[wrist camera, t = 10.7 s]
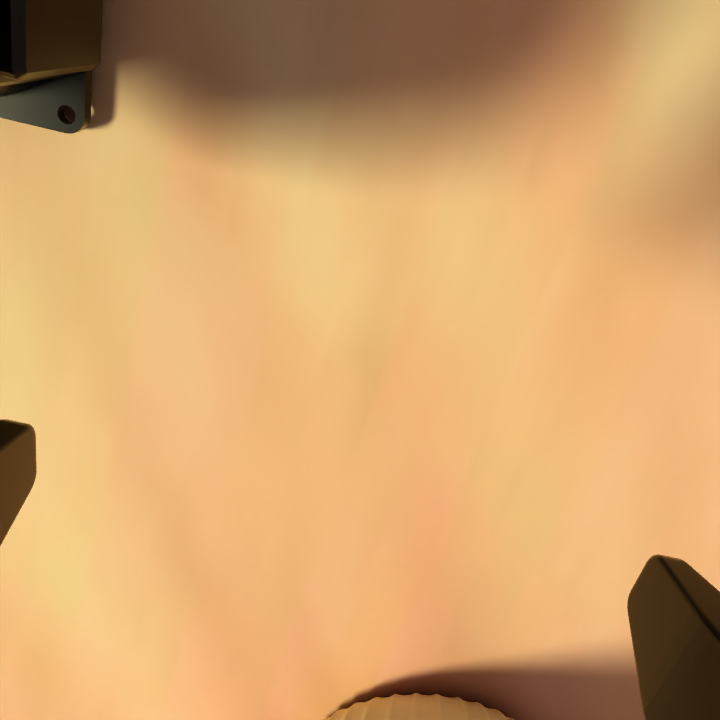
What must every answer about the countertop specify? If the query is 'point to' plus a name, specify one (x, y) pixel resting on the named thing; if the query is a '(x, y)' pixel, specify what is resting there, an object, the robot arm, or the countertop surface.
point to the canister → (417, 709)
